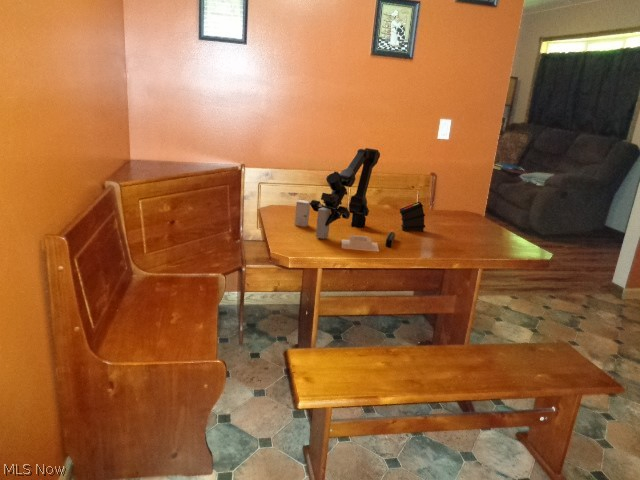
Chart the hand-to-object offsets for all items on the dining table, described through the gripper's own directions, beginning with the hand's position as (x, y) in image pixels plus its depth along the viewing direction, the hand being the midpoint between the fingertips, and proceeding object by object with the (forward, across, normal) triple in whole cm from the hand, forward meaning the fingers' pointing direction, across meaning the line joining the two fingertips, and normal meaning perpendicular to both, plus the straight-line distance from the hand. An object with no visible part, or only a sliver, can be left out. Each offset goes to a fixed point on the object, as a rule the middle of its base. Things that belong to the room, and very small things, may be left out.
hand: (321, 224), depth 205 cm
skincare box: (-4, -20, +16) cm, 26 cm away
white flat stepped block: (+2, +17, +9) cm, 20 cm away
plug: (+3, 0, +5) cm, 6 cm away
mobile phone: (-8, +25, +20) cm, 33 cm away
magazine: (-28, +24, +40) cm, 54 cm away
